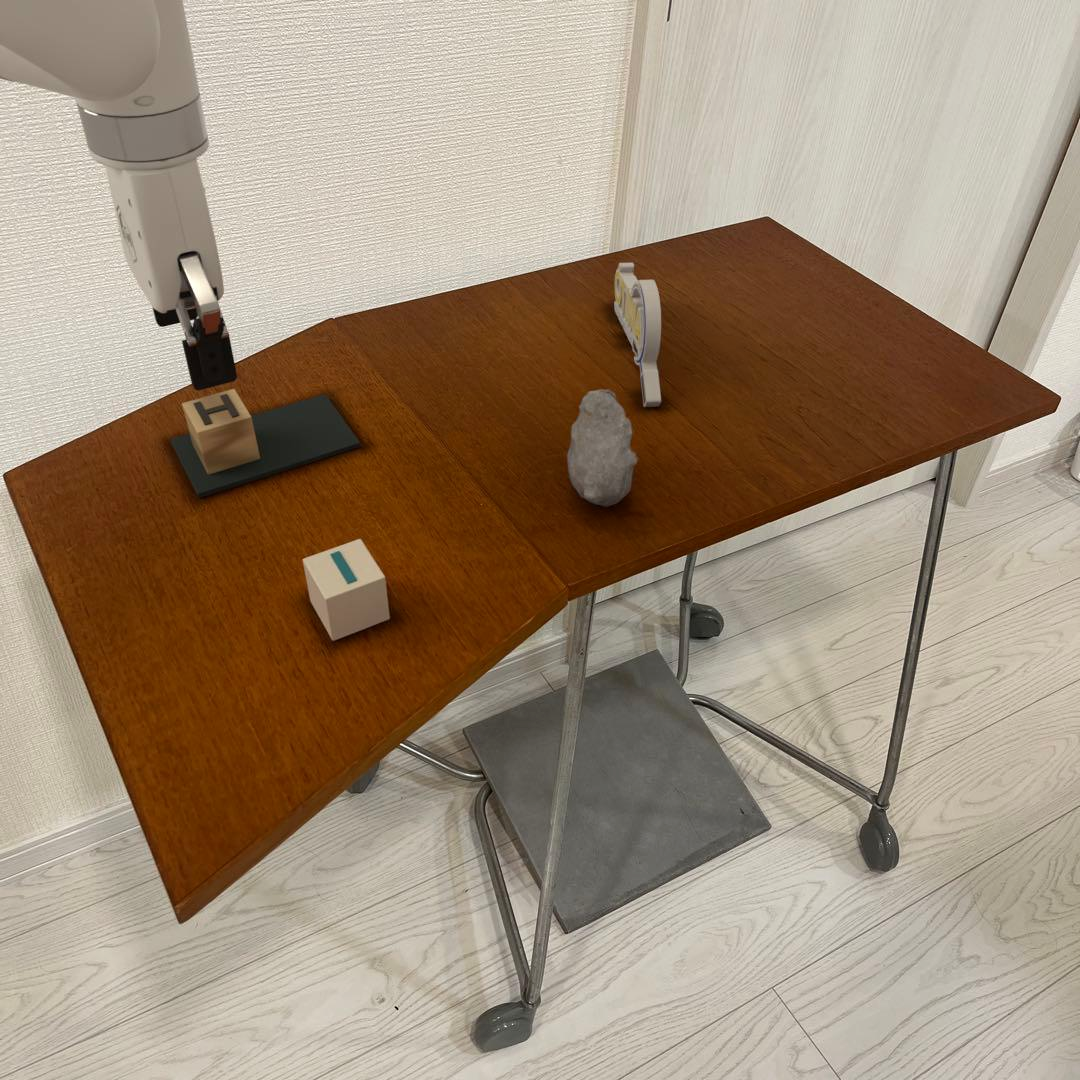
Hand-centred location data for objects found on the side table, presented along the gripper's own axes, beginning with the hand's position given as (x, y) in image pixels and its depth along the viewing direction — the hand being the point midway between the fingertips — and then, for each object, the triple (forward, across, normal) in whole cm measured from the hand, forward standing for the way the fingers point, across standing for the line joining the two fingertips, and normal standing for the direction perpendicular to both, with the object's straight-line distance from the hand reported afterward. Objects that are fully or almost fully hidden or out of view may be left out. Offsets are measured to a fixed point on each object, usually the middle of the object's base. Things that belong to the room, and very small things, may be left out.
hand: (195, 351), depth 77 cm
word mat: (+11, 0, +4) cm, 12 cm away
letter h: (+10, -1, +1) cm, 10 cm away
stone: (+11, +18, +26) cm, 34 cm away
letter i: (+11, +20, +3) cm, 24 cm away
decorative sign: (+10, +2, +40) cm, 42 cm away
